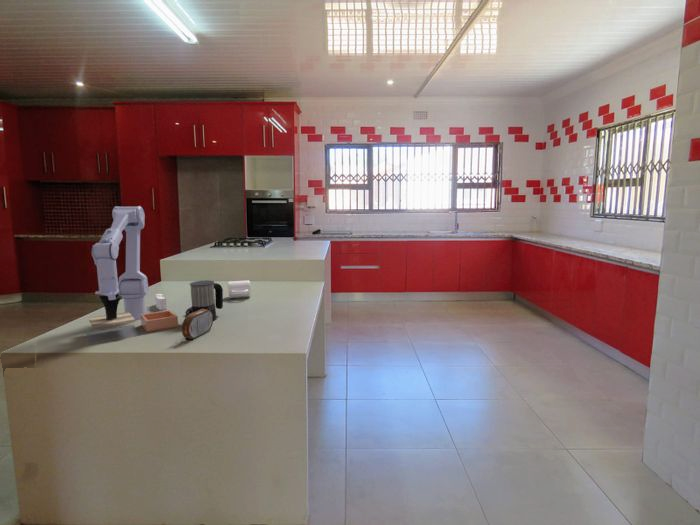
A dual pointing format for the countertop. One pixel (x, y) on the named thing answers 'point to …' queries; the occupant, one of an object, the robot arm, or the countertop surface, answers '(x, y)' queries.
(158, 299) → the napkin holder
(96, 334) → the slate mat
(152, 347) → the countertop surface
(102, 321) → the birch lid
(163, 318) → the terracotta dish
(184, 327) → the tin
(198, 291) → the milk frother
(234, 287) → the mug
